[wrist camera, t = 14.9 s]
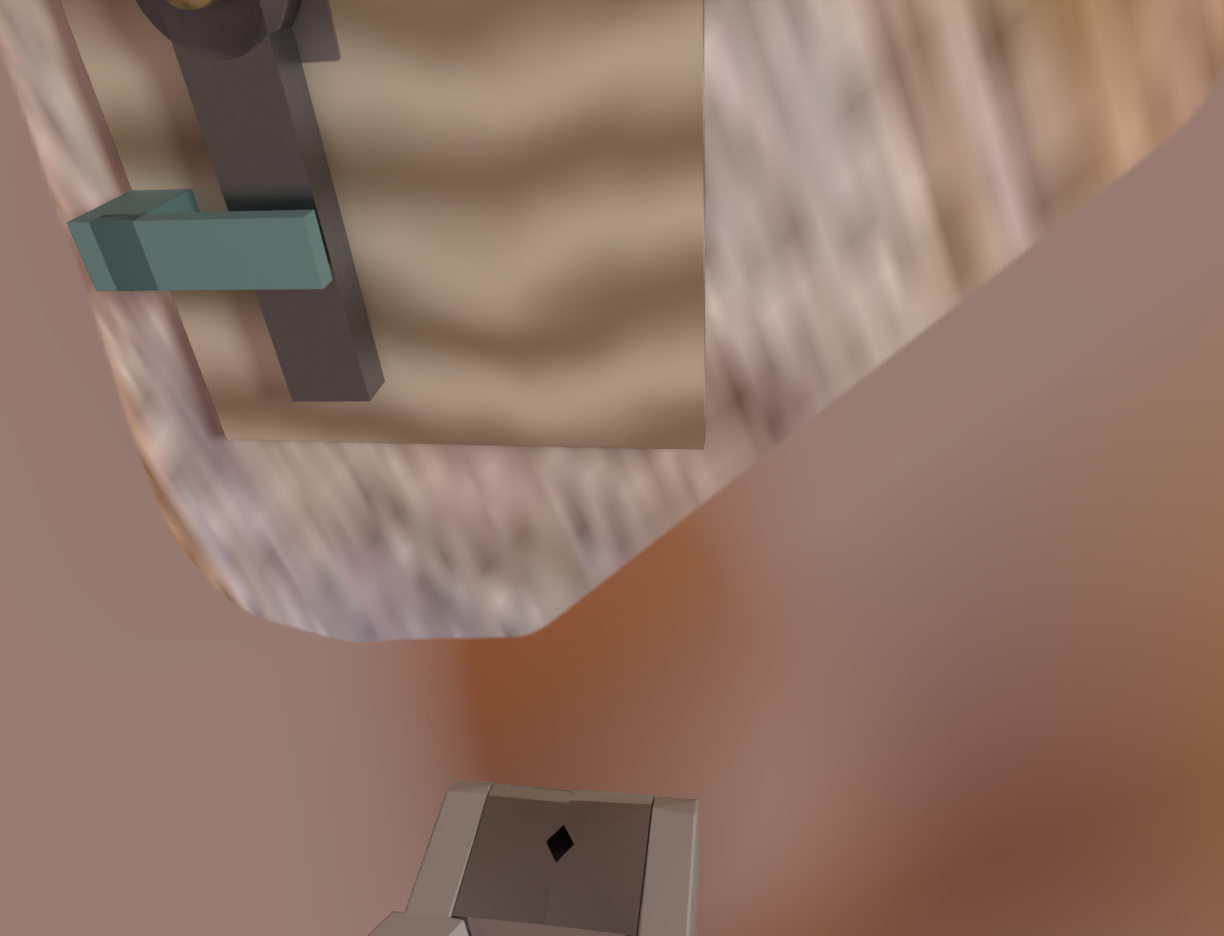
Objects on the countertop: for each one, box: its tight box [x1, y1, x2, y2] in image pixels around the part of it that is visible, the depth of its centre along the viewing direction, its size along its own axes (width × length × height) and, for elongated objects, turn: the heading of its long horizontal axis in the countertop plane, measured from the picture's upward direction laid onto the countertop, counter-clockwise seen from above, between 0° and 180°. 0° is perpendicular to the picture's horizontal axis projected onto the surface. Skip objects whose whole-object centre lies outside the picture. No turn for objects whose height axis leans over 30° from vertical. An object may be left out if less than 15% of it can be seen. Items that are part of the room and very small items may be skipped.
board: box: [60, 0, 705, 450], centre depth 37 cm, size 29×26×2 cm
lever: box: [136, 0, 385, 402], centre depth 35 cm, size 21×6×3 cm, turn 5°
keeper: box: [67, 189, 333, 291], centre depth 37 cm, size 3×10×4 cm, turn 94°
